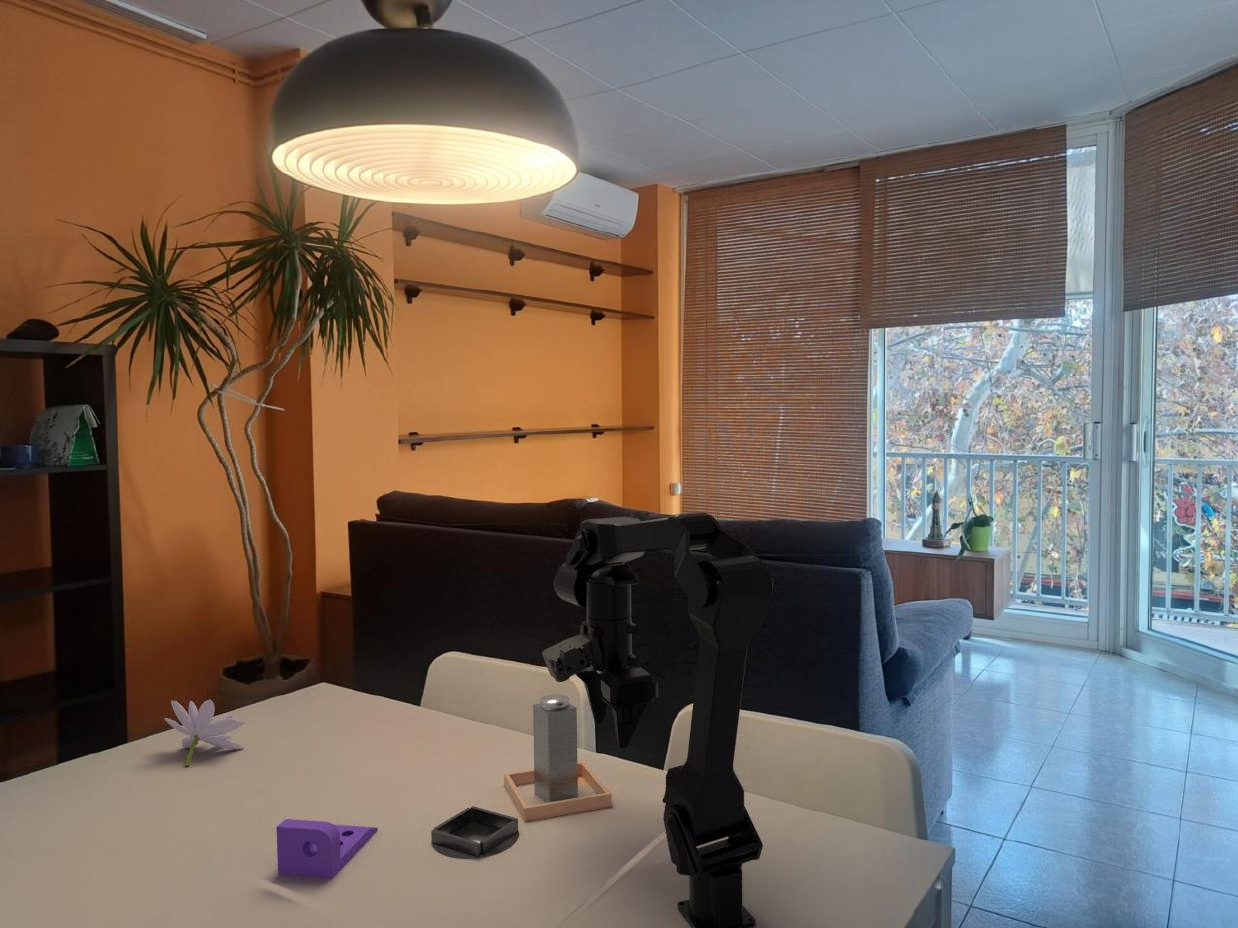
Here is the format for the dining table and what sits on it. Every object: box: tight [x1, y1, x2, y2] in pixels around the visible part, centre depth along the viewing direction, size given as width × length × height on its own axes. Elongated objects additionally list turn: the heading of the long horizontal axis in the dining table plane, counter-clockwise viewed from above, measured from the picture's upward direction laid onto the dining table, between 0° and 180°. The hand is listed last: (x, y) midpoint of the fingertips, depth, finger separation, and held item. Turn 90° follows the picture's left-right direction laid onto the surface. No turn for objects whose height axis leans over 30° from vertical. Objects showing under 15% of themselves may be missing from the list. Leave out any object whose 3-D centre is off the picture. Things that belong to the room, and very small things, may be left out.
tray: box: [503, 760, 612, 822], centre depth 124 cm, size 12×12×2 cm
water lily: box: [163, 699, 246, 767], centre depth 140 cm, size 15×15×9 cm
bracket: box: [276, 818, 379, 880], centre depth 108 cm, size 12×7×7 cm, turn 170°
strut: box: [532, 693, 579, 803], centre depth 123 cm, size 4×4×14 cm
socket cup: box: [430, 805, 520, 860], centre depth 112 cm, size 11×11×2 cm
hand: (610, 734), depth 113 cm, fingers open, 9 cm apart
